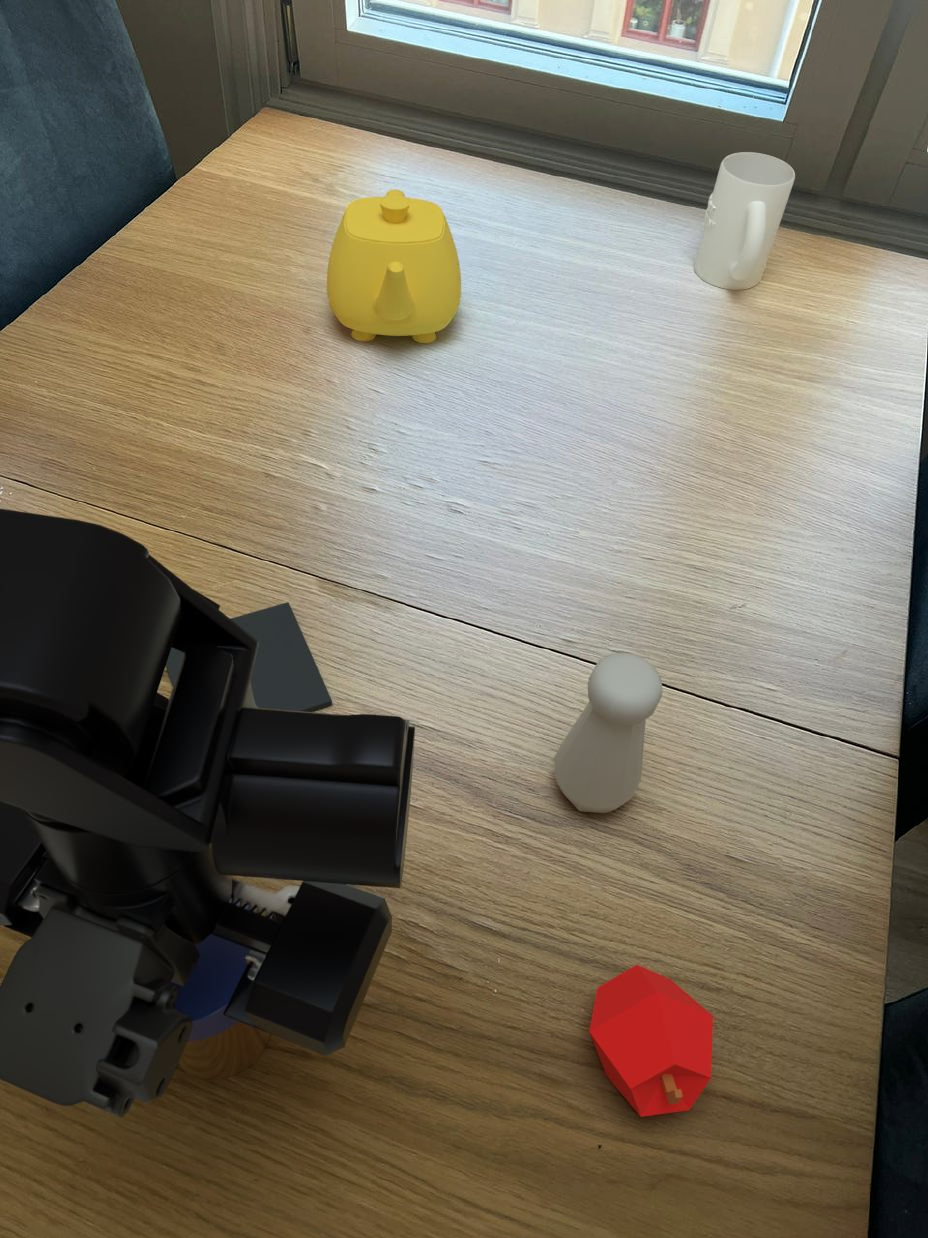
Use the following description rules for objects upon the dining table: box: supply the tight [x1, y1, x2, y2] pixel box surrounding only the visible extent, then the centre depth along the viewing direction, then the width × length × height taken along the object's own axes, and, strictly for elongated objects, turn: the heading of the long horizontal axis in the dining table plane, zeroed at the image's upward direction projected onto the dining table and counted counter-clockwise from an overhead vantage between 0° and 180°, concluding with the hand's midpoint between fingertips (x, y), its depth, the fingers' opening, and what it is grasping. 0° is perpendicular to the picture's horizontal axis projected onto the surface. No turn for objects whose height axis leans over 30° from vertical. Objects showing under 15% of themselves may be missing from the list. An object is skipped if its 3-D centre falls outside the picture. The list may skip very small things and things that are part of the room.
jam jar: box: [177, 1021, 272, 1080], centre depth 48 cm, size 6×6×10 cm
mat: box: [165, 601, 333, 712], centre depth 68 cm, size 10×10×1 cm
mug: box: [693, 151, 796, 291], centre depth 103 cm, size 8×12×12 cm
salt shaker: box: [553, 652, 663, 814], centre depth 59 cm, size 6×6×13 cm
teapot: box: [326, 189, 462, 344], centre depth 93 cm, size 14×20×13 cm
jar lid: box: [170, 898, 256, 1042], centre depth 45 cm, size 7×7×3 cm
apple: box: [588, 964, 714, 1118], centre depth 50 cm, size 7×7×8 cm
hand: (196, 970), depth 46 cm, fingers closed on jar lid, 7 cm apart
